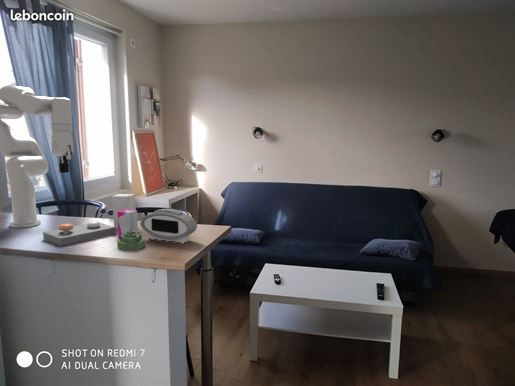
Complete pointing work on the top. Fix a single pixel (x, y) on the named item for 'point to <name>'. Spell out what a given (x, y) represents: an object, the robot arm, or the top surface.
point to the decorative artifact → (130, 241)
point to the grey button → (93, 224)
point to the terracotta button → (66, 228)
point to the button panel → (78, 234)
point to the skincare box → (122, 205)
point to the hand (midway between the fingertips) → (64, 172)
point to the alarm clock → (169, 225)
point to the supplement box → (127, 221)
